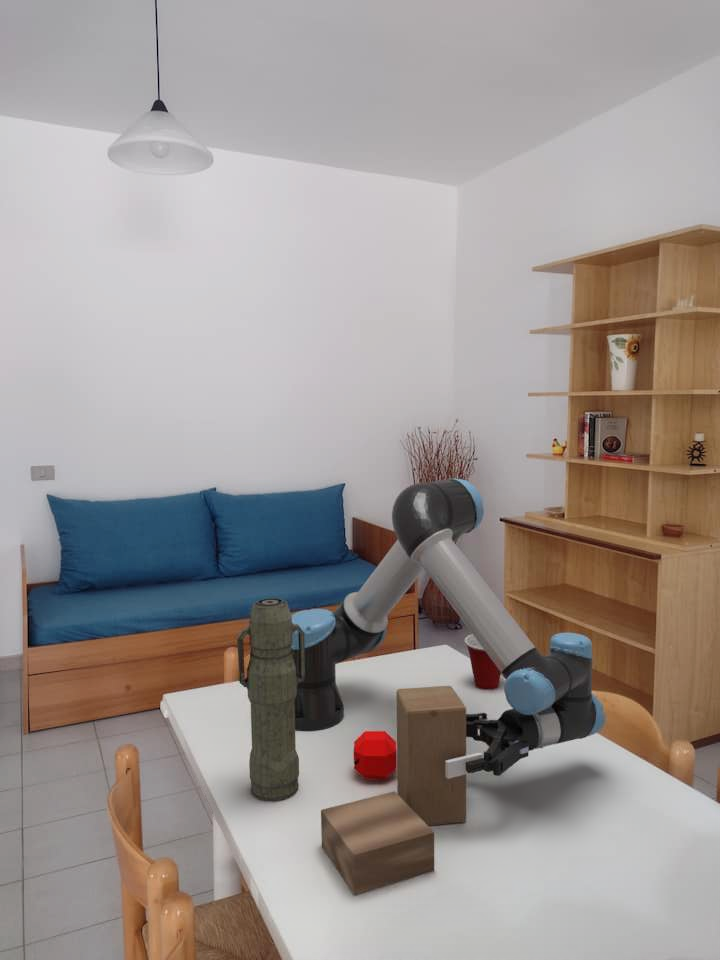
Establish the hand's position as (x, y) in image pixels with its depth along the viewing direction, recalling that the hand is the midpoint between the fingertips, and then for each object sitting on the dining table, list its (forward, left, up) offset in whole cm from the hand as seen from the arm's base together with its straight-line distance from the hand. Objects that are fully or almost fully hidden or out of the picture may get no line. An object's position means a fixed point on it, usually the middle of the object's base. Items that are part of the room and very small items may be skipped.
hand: (425, 751), depth 122 cm
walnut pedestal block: (+7, -13, -11) cm, 18 cm away
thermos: (-19, -21, -11) cm, 30 cm away
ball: (-16, -2, -11) cm, 20 cm away
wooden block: (-1, +1, -11) cm, 11 cm away
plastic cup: (-44, +42, -11) cm, 62 cm away
